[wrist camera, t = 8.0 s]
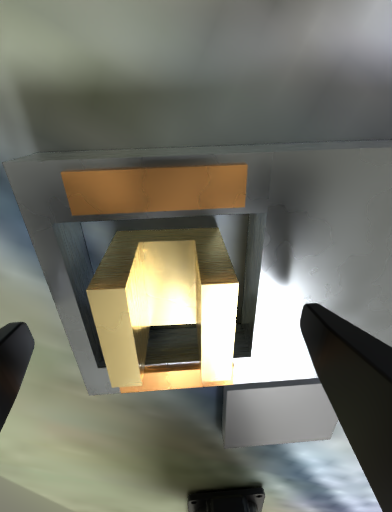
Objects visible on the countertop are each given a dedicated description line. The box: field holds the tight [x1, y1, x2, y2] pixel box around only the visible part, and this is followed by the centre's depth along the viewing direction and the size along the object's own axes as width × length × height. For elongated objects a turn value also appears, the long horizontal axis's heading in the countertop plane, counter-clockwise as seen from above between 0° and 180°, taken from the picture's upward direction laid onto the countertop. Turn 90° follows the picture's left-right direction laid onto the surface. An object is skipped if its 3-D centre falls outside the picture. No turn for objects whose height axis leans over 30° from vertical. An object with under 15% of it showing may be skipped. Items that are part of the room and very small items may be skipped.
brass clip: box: [86, 228, 239, 388], centre depth 9 cm, size 4×4×4 cm
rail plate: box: [2, 139, 392, 395], centre depth 10 cm, size 10×17×2 cm, turn 92°
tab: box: [222, 378, 338, 449], centre depth 16 cm, size 6×7×1 cm
